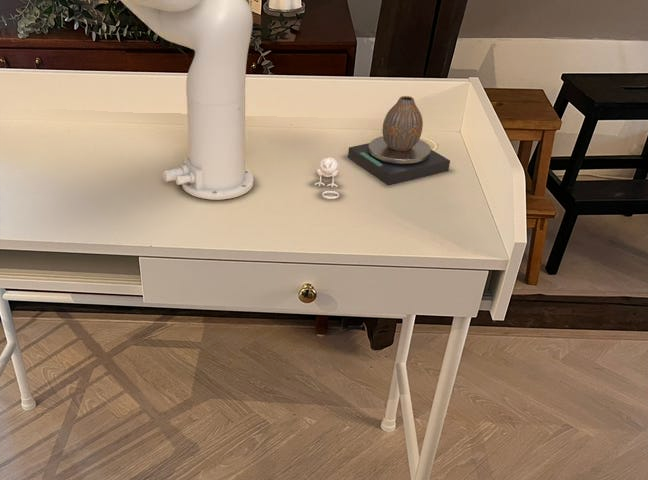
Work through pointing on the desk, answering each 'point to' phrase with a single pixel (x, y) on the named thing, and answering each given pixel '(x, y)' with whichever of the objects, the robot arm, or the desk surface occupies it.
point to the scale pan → (399, 152)
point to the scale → (397, 165)
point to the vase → (402, 125)
